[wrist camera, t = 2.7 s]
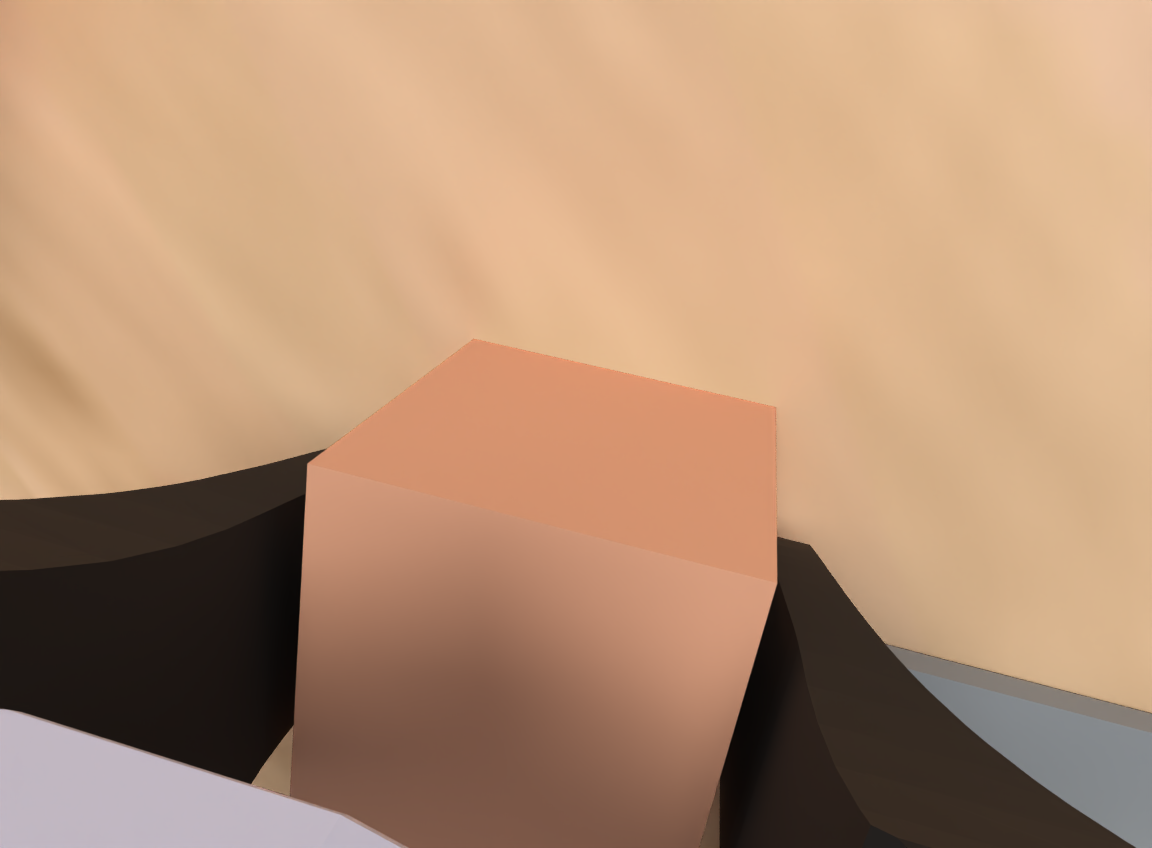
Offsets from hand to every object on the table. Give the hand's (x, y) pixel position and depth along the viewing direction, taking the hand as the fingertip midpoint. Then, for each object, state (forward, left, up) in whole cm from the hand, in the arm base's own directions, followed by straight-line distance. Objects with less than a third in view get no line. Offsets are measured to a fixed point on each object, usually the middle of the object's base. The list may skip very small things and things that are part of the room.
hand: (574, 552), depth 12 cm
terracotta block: (0, 0, -2) cm, 2 cm away
